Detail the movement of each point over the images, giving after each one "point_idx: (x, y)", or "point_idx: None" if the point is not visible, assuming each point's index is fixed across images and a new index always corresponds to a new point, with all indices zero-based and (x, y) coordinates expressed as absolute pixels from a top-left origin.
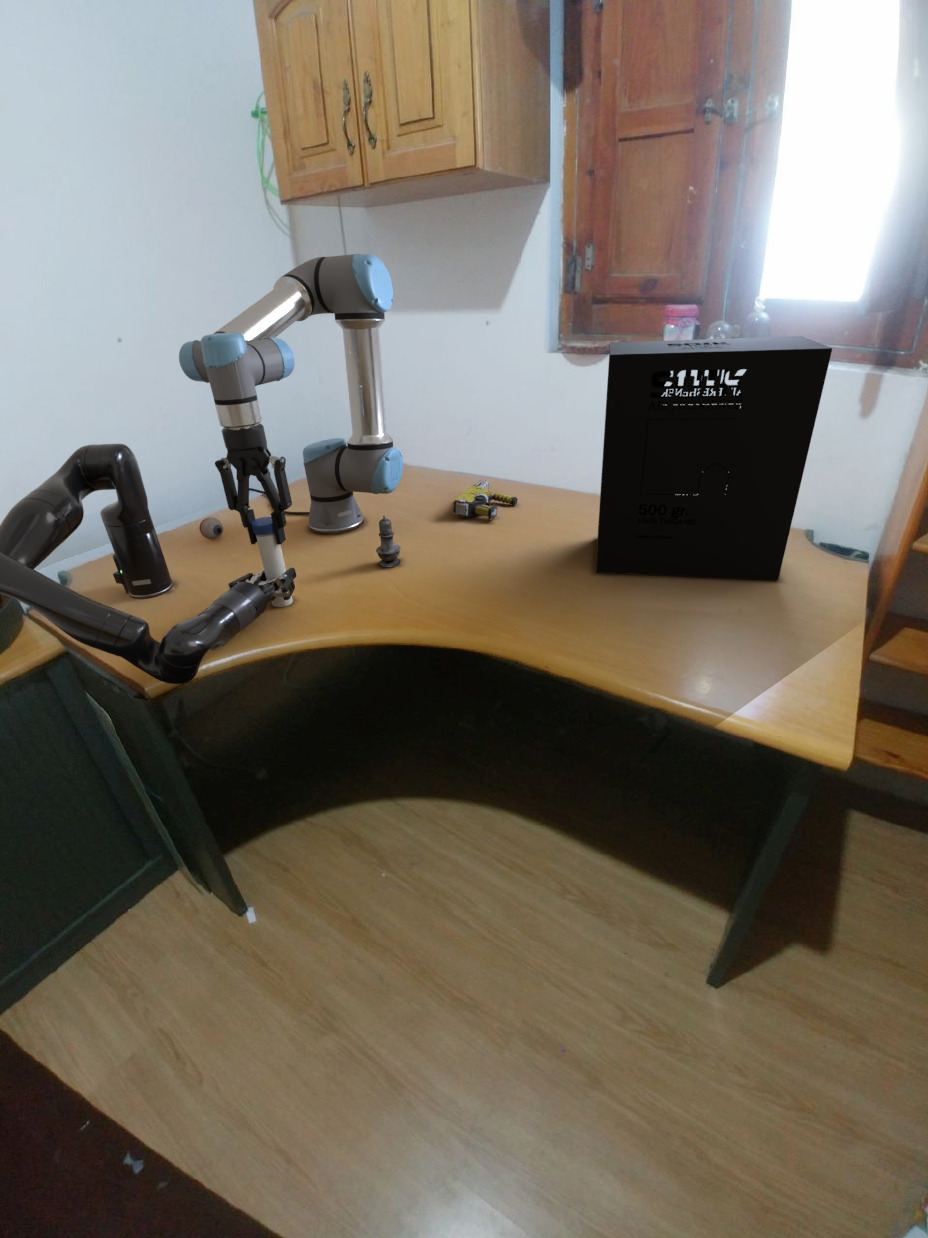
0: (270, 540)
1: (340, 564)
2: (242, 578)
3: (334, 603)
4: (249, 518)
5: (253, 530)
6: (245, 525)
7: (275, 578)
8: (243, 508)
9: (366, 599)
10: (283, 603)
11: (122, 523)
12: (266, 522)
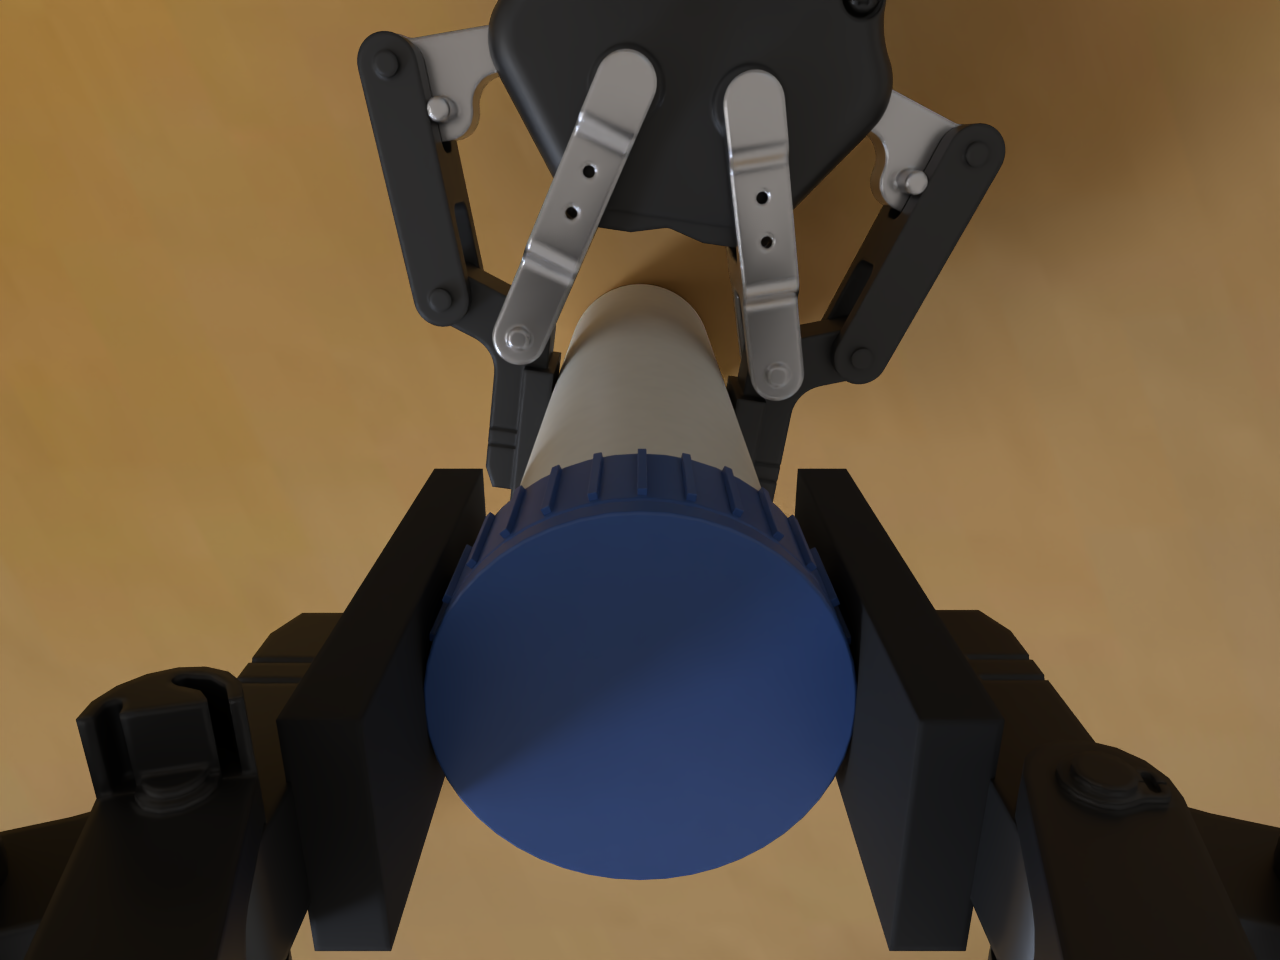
0: (547, 470)
1: (467, 854)
2: (902, 266)
3: (265, 358)
4: (882, 689)
5: (784, 526)
6: (959, 626)
7: (545, 231)
8: (1033, 817)
9: (70, 421)
10: (602, 298)
11: None
12: (560, 654)
